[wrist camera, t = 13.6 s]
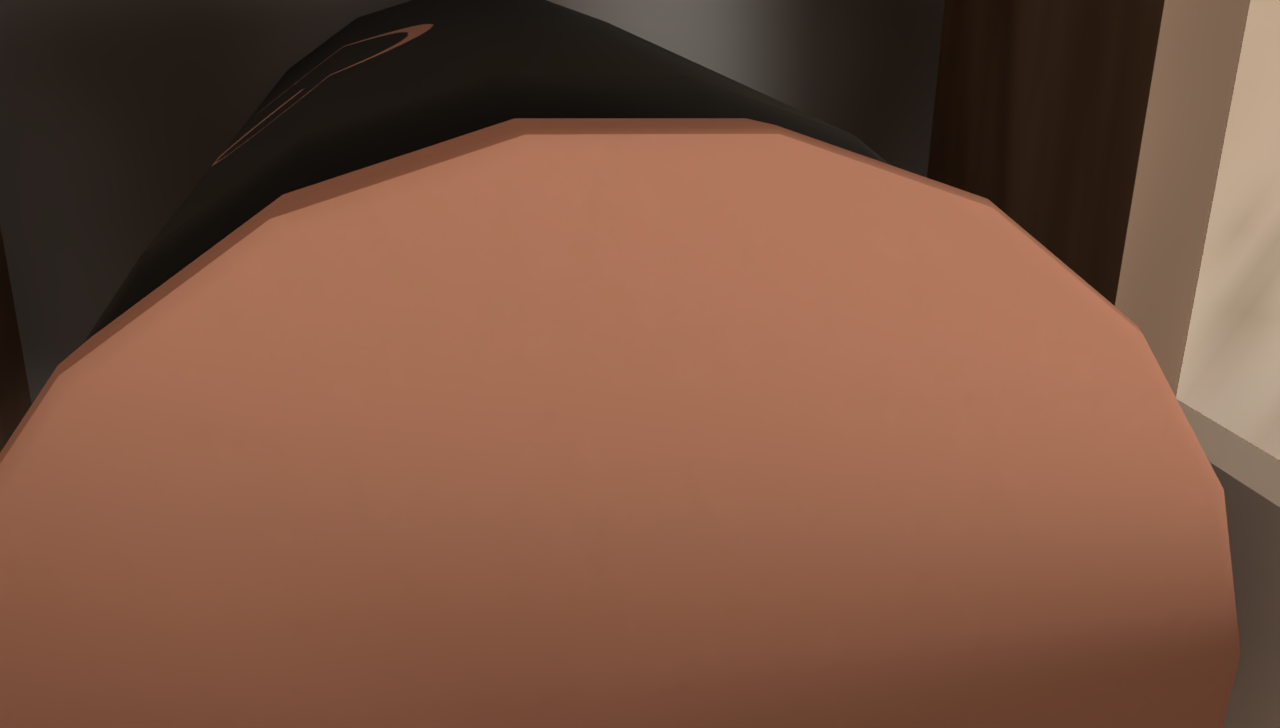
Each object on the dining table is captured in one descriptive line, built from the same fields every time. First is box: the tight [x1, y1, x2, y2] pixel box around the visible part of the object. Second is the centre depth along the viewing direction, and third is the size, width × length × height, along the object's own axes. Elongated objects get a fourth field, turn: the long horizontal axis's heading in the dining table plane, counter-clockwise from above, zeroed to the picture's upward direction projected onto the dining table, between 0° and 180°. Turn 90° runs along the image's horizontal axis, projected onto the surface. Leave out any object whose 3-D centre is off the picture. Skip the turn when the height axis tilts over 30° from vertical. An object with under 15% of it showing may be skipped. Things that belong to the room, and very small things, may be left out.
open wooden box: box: [0, 0, 1250, 452], centre depth 22 cm, size 23×23×9 cm
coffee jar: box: [0, 0, 1241, 728], centre depth 18 cm, size 11×11×18 cm
